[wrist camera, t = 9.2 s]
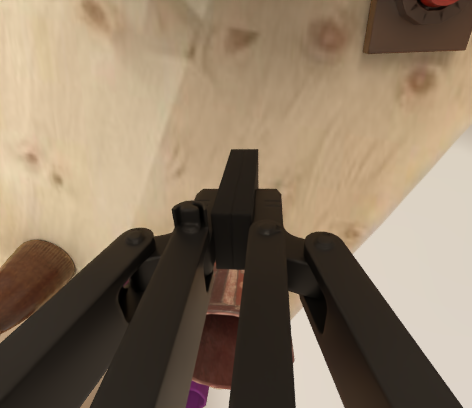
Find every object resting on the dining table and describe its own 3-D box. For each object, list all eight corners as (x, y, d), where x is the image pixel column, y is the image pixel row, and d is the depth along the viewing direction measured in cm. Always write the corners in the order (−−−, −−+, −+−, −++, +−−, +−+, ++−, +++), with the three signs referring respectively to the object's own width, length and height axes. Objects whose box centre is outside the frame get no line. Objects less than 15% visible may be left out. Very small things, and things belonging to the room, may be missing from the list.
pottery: (253, 306, 59) (247, 405, 44) (174, 269, 56) (138, 361, 40) (307, 250, 50) (323, 349, 35) (217, 202, 47) (191, 288, 32)
